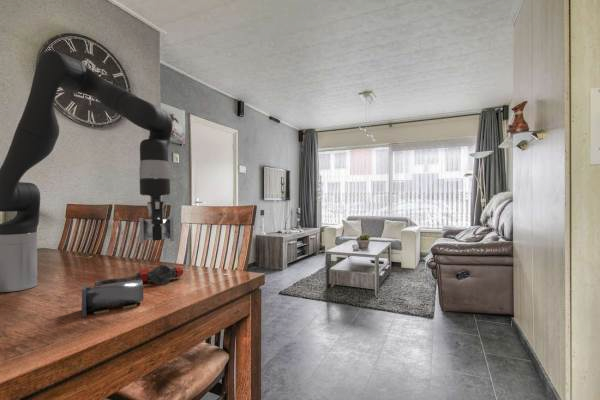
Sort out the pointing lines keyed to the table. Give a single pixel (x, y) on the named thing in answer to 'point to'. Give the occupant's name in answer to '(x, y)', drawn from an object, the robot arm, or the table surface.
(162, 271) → the valve
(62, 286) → the table surface
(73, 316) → the table surface
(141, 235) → the coupling
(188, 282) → the table surface
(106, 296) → the pipe stub
